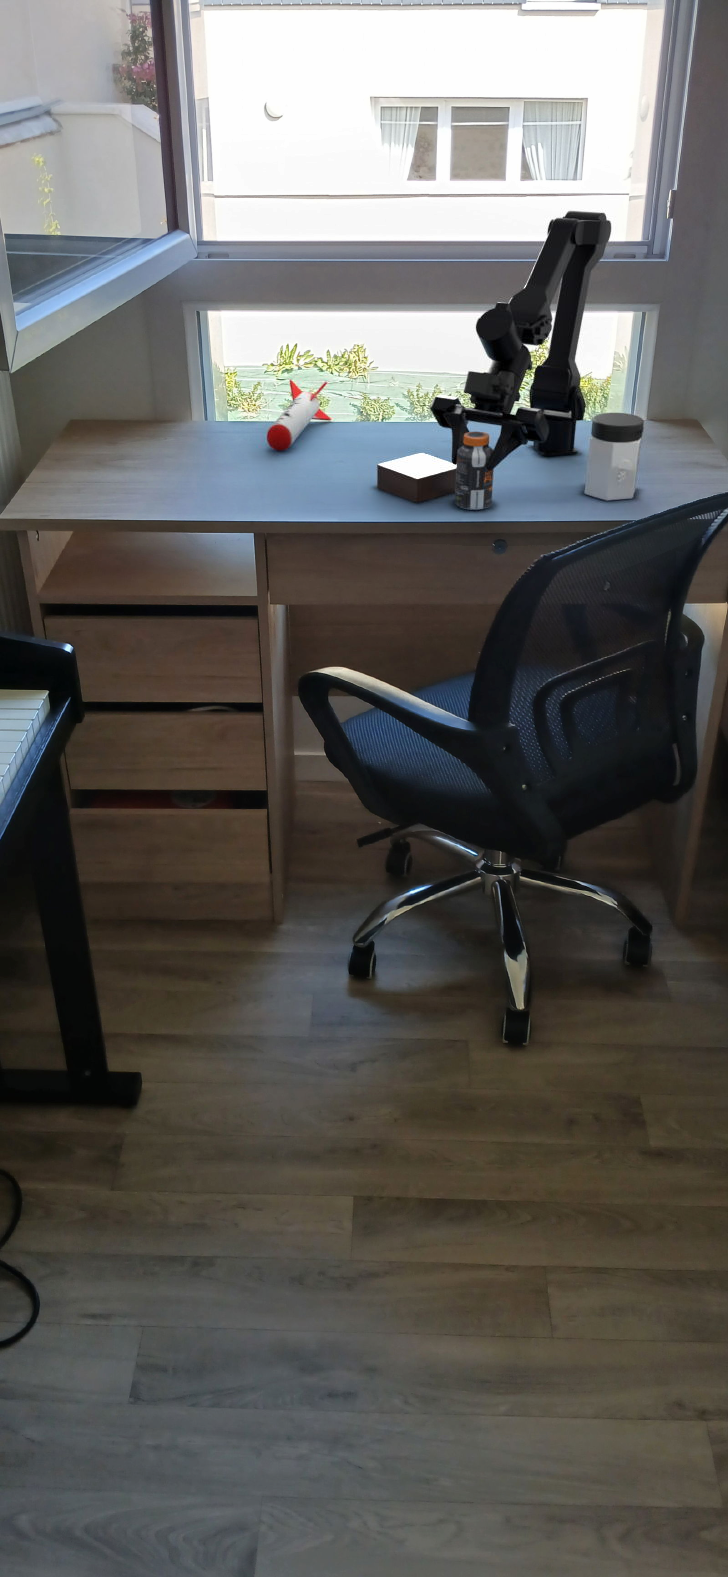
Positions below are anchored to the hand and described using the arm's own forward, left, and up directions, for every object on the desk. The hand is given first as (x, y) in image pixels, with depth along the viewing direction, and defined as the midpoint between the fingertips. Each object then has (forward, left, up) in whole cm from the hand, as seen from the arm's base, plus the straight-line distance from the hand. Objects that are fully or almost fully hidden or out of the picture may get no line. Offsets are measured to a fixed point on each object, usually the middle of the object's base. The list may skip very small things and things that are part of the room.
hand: (471, 466), depth 181 cm
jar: (-25, -1, -7) cm, 26 cm away
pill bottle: (-1, -1, -7) cm, 7 cm away
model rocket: (+19, -47, -7) cm, 51 cm away
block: (+5, -11, -7) cm, 14 cm away
